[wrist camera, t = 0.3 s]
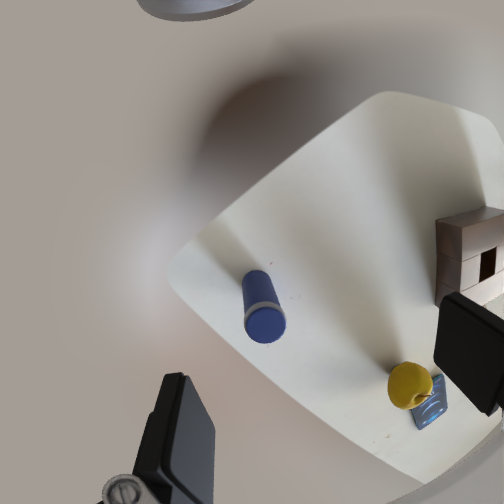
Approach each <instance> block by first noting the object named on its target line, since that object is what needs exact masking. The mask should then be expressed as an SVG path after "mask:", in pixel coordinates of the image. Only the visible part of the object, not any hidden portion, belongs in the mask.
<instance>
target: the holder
mask: <svg viewBox="0 0 504 504" xmlns="http://www.w3.org/2000/svg"><path fill="white" fill-rule="evenodd" d="M436 239H437V277H436V299H435V305H436V306H437V307H438V308H440V303H441V302H442V298H443V297H444V296H445V295H448V294H450V293H452V292H454V291H457V292H459V293H461V294H462V295H464V296H466V297H467V298H469V299H471V300H472V301H474V302H476V303H477V304H479V305H481V306H483V305H485V304H486V303H488V302H489V301H491V300H493V299H494V298H496V297H497V296H499V295H501V294H502V293H504V210H501V209H497V208H492V207H483V208H480V209H476V210H472V211H469V212H465V213H461V214H458V215H454V216H450V217H447V218H443V219H439V220H436Z"/></svg>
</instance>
